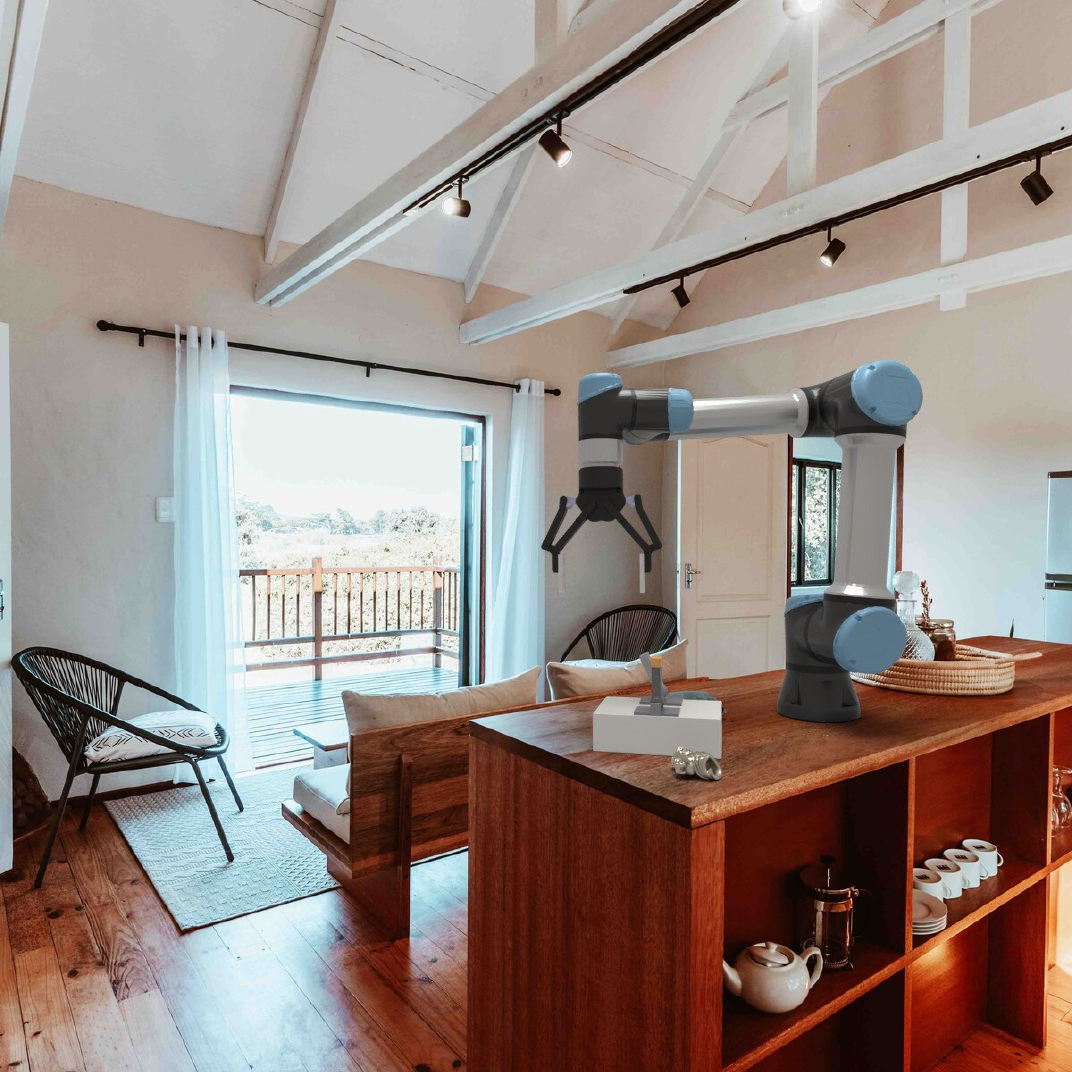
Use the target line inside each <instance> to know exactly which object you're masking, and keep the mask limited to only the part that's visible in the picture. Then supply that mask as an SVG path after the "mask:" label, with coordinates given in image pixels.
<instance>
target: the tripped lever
mask: <svg viewBox="0 0 1072 1072" xmlns="http://www.w3.org/2000/svg"><path fill="white" fill-rule="evenodd" d="M650 657H651V667H652V683H651V697H652V698H651V701H650V705H651V703H661V707H662V705H663V703H664V697H663V696H662V682H663V655H652V656H650Z"/></svg>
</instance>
